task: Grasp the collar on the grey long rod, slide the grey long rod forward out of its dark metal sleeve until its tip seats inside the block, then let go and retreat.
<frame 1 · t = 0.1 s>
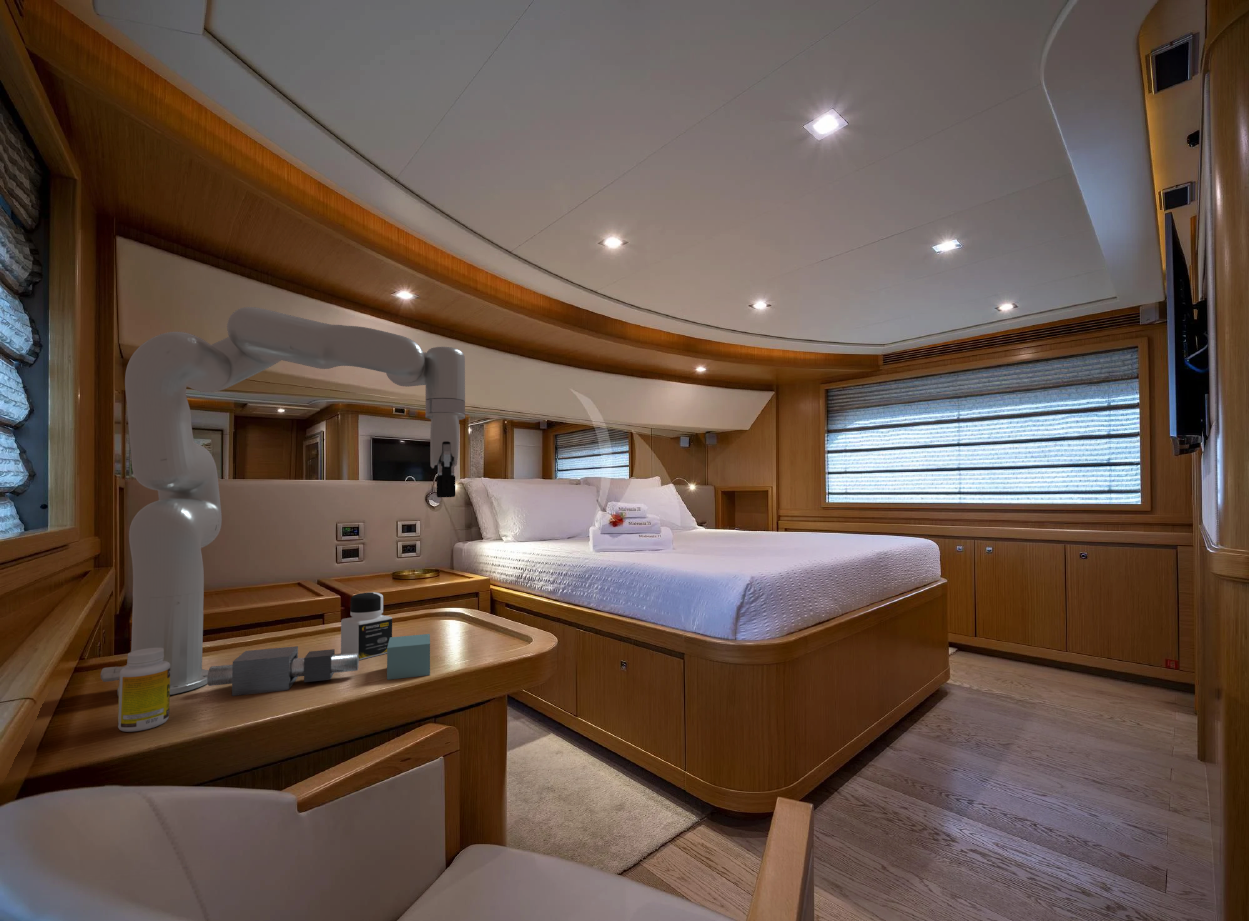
hand: (445, 497, 114), 31 cm above the table, fingers open, 9 cm apart
grey long rod: (286, 668, 99), point 3 cm above the table, slide at 0.0 cm
block: (409, 671, 105), on the table
sleeve: (266, 686, 98), on the table
supplement bottle: (143, 727, 81), on the table
medicine bottle: (366, 654, 117), on the table
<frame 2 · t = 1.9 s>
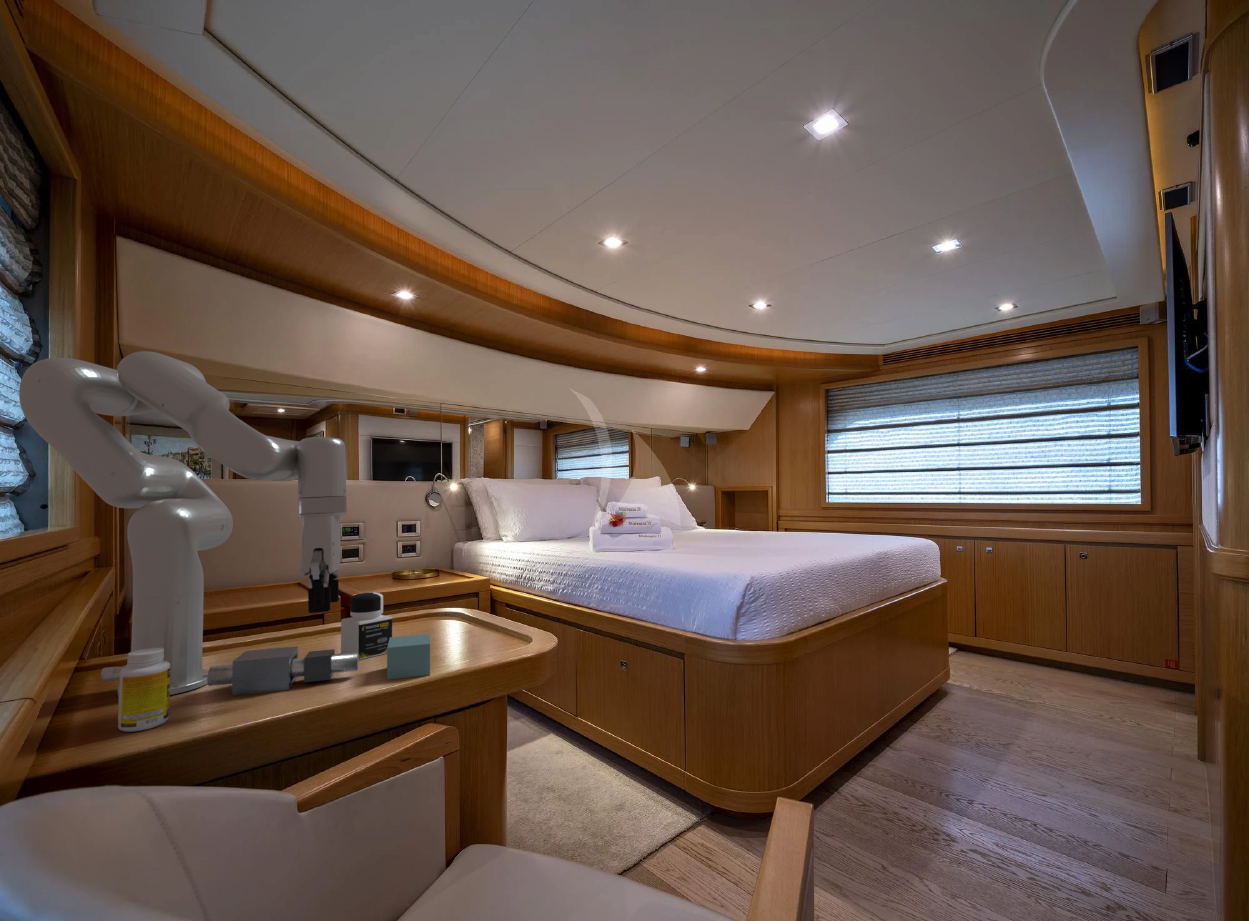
hand: (324, 607, 101), 12 cm above the table, fingers open, 9 cm apart
nothing on the table moved.
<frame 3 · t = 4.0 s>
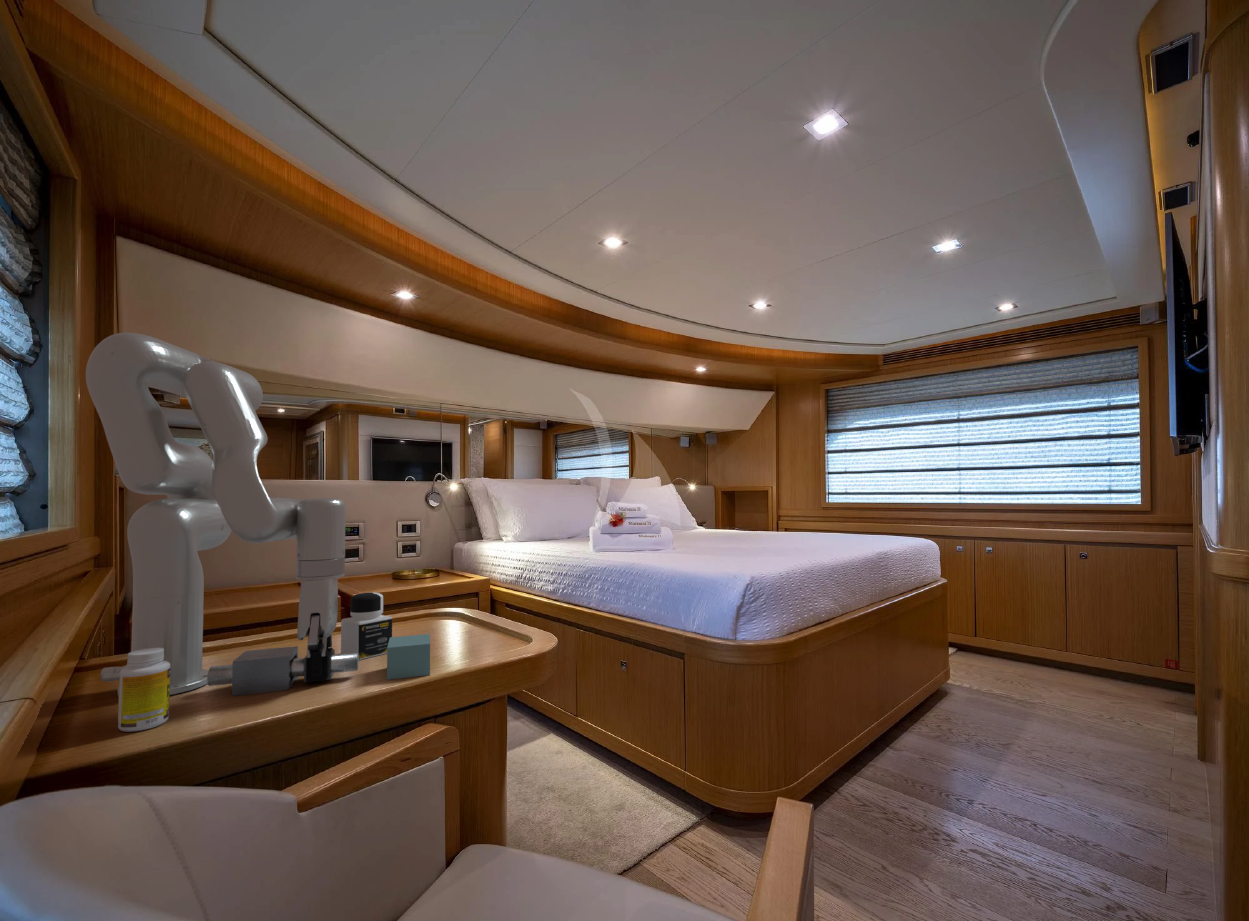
hand: (319, 675, 100), 1 cm above the table, fingers closed on grey long rod, 4 cm apart
grey long rod: (286, 668, 99), point 3 cm above the table, slide at 0.0 cm, touching gripper
everything else where it was.
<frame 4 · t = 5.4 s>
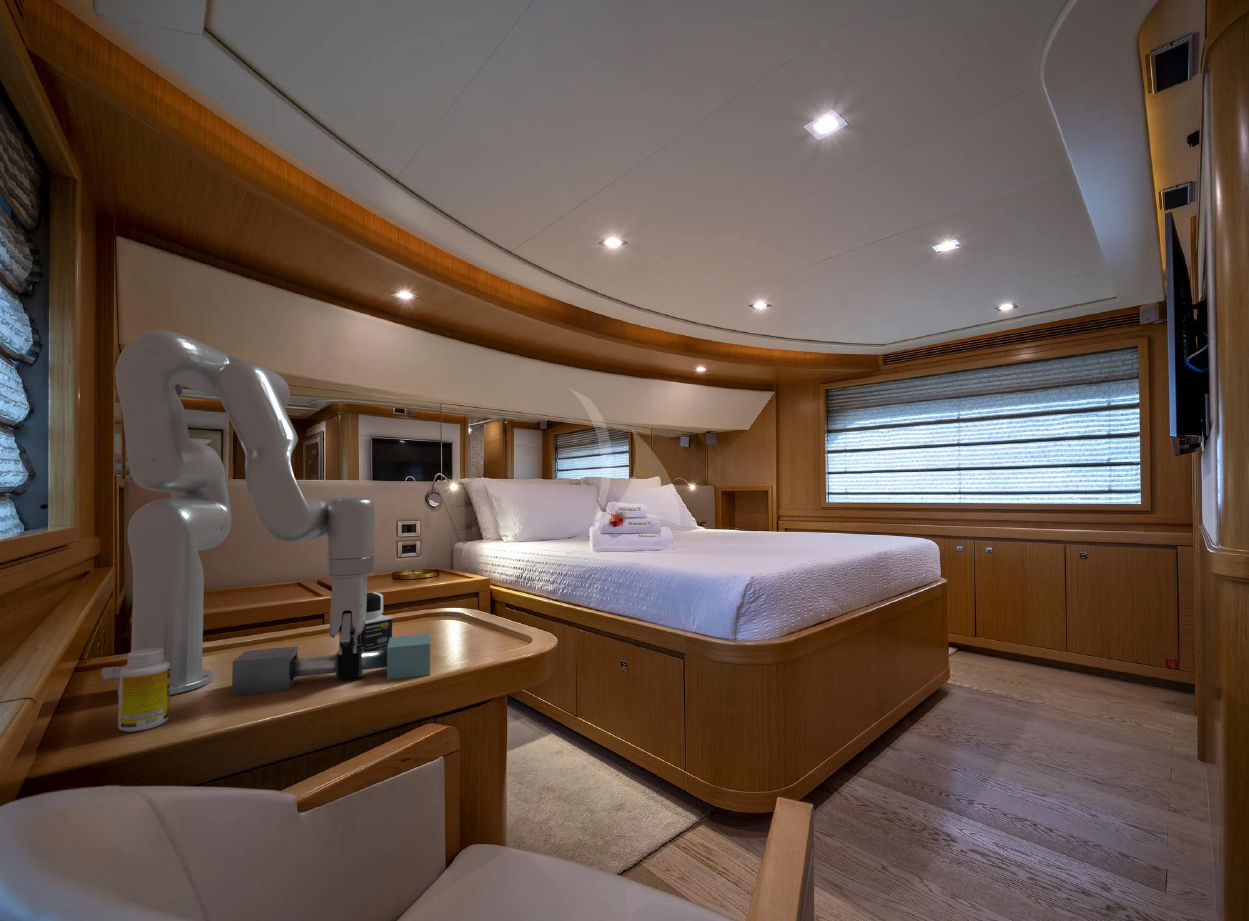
hand: (350, 671, 102), 1 cm above the table, fingers closed on grey long rod, 4 cm apart
grey long rod: (318, 665, 100), point 3 cm above the table, slide at 4.8 cm, touching gripper
everything else where it was.
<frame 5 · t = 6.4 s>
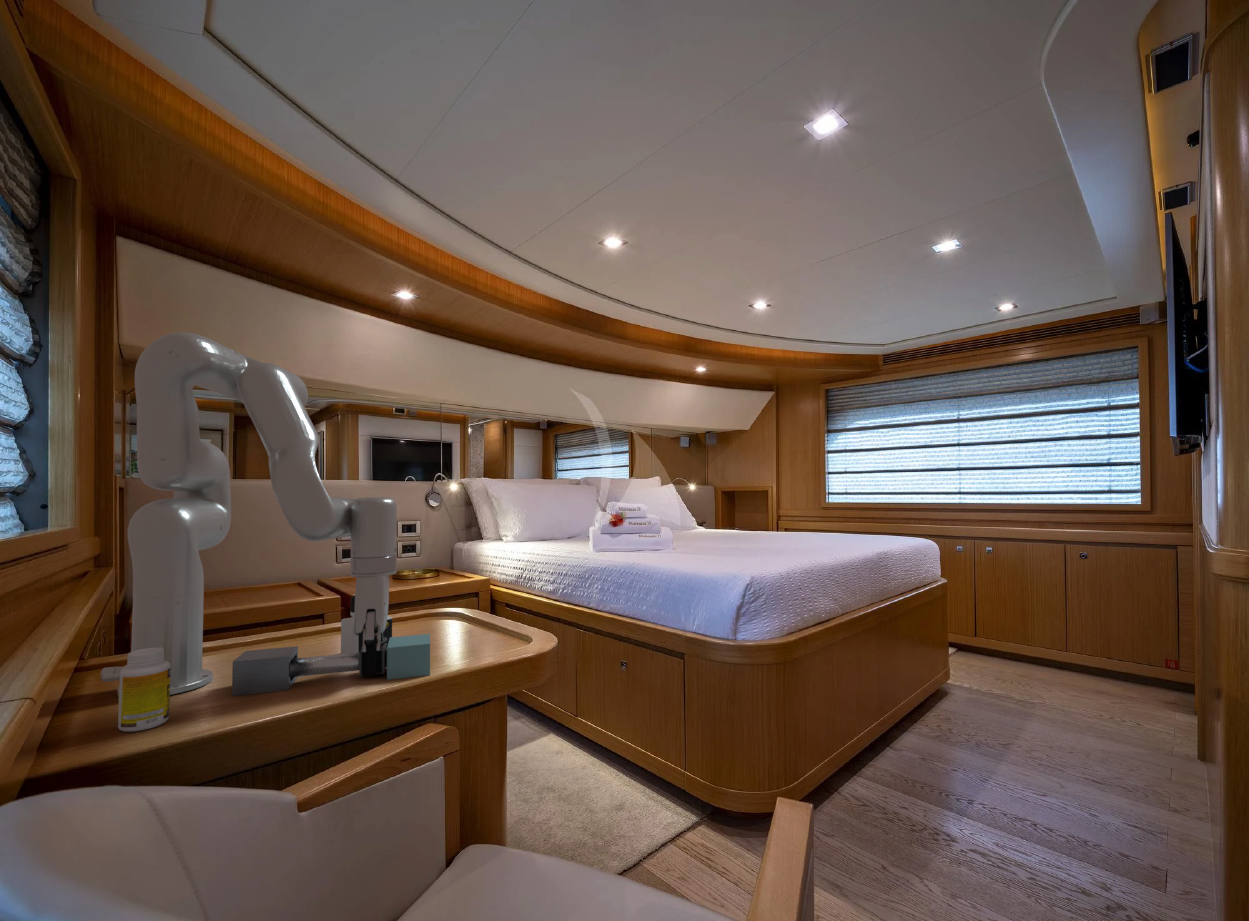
hand: (372, 669, 103), 1 cm above the table, fingers closed on grey long rod, 4 cm apart
grey long rod: (341, 663, 101), point 3 cm above the table, slide at 8.5 cm, touching gripper
everything else where it was.
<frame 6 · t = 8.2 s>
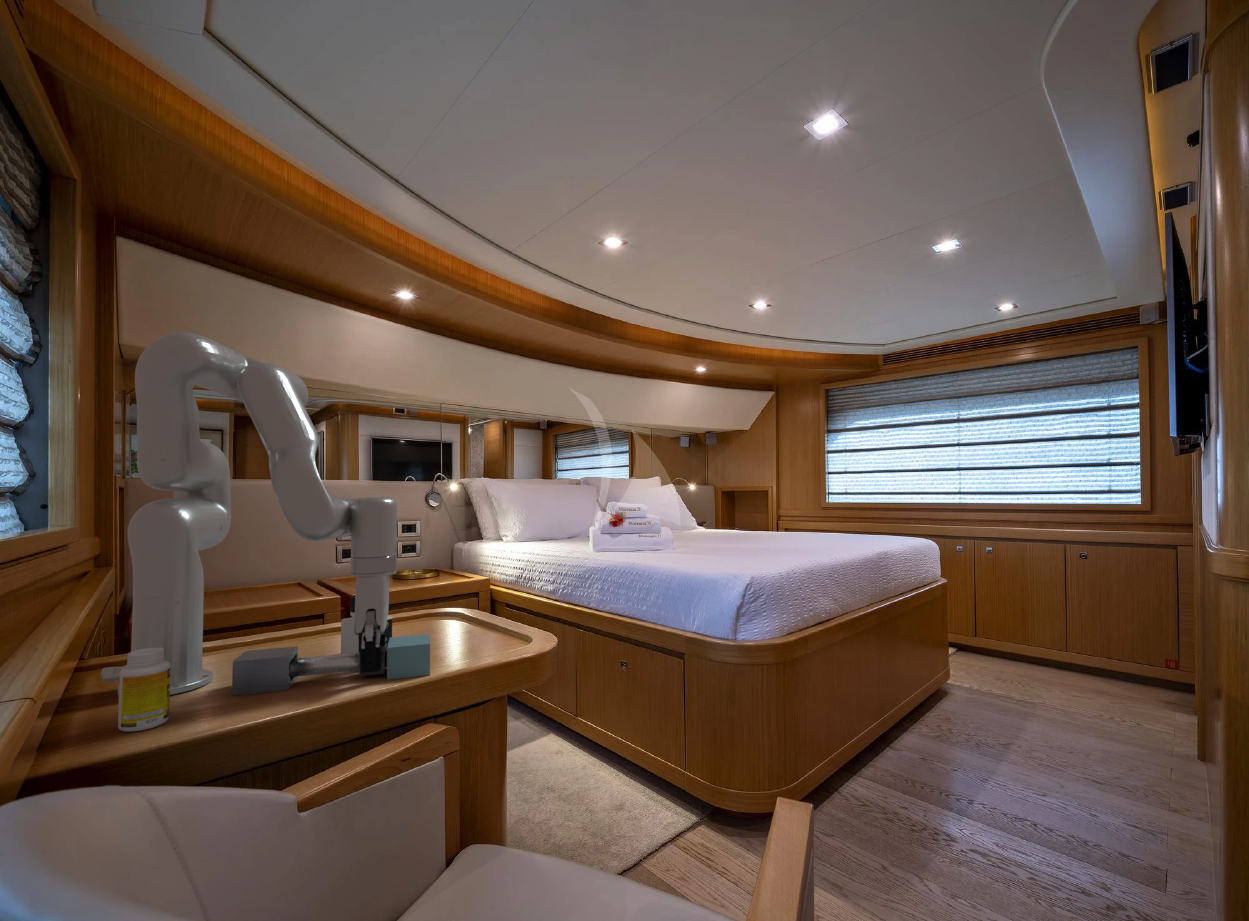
hand: (373, 664, 103), 2 cm above the table, fingers open, 9 cm apart
grey long rod: (342, 663, 101), point 3 cm above the table, slide at 8.5 cm
everything else where it was.
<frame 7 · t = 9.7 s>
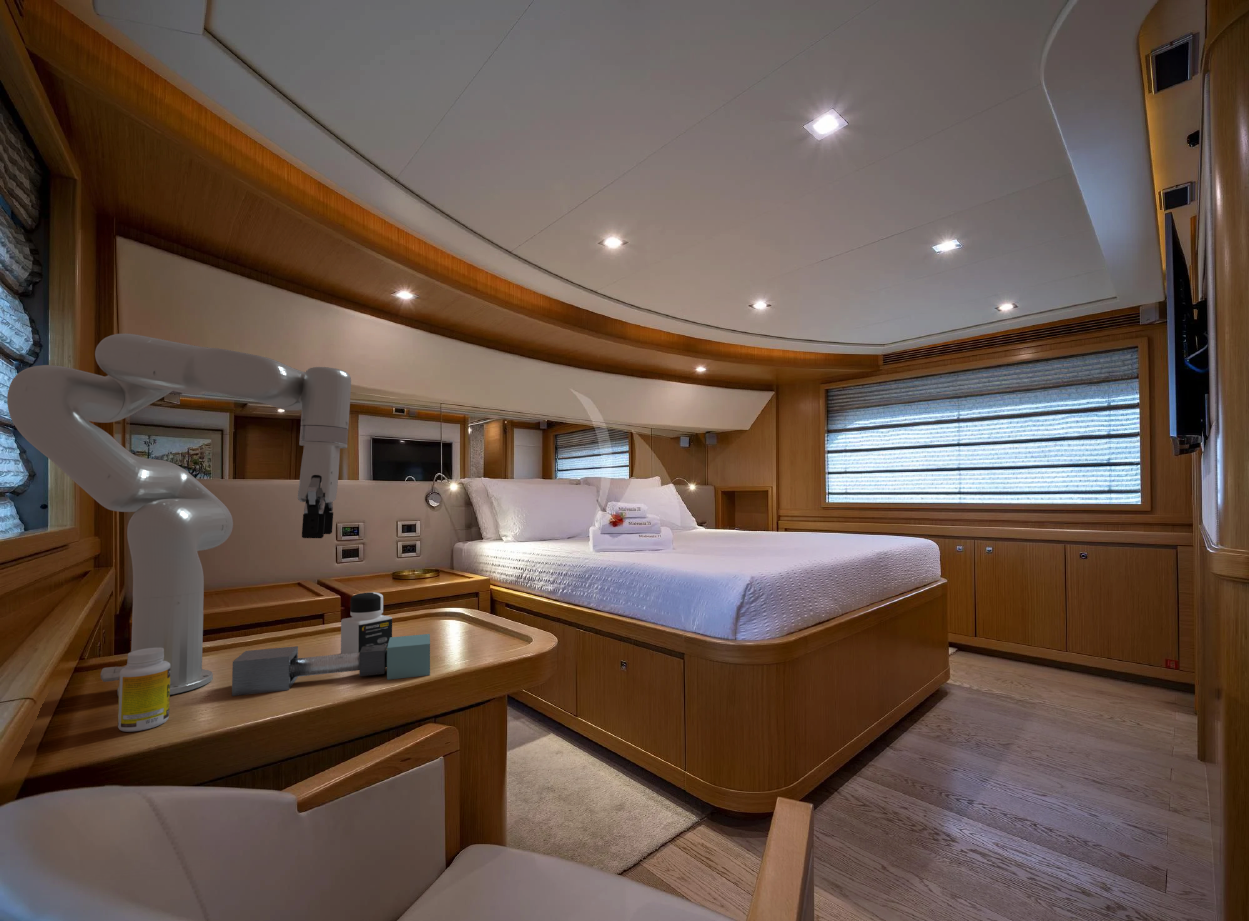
hand: (317, 535, 102), 25 cm above the table, fingers open, 9 cm apart
nothing on the table moved.
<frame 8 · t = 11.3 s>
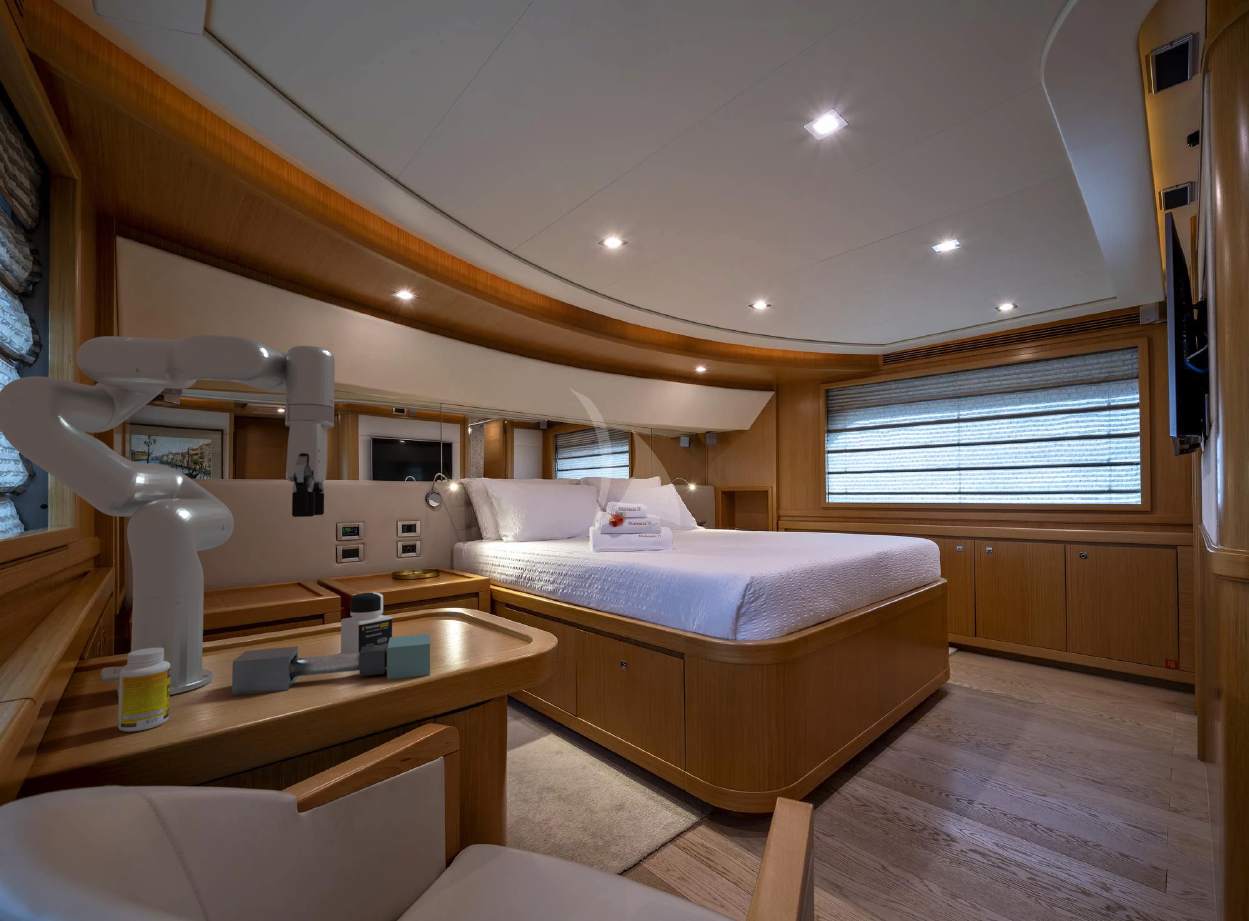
hand: (308, 515, 101), 28 cm above the table, fingers open, 9 cm apart
nothing on the table moved.
at the end: grey long rod slide at 8.5 cm; the gripper is holding nothing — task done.
